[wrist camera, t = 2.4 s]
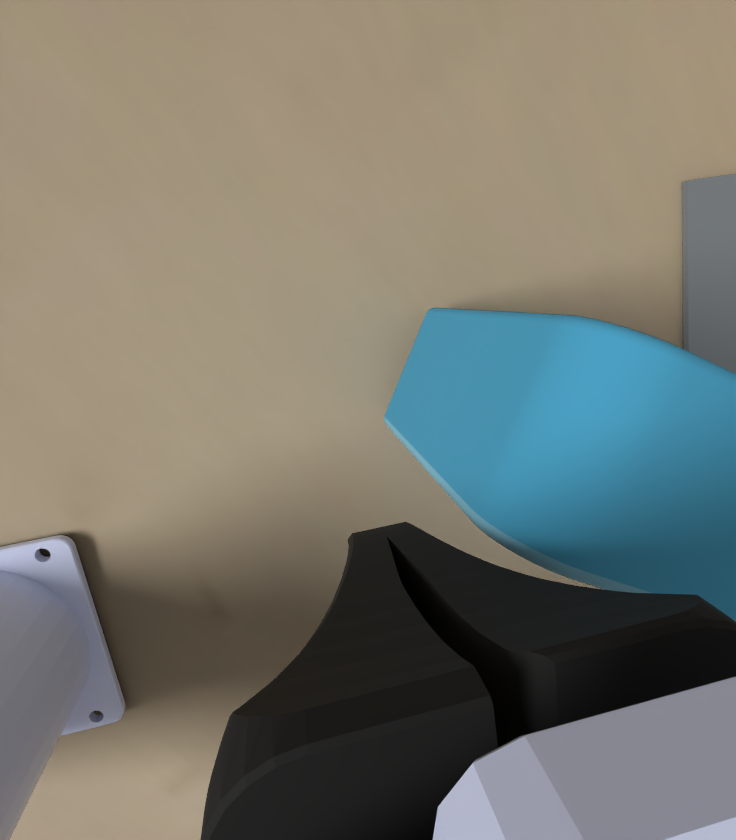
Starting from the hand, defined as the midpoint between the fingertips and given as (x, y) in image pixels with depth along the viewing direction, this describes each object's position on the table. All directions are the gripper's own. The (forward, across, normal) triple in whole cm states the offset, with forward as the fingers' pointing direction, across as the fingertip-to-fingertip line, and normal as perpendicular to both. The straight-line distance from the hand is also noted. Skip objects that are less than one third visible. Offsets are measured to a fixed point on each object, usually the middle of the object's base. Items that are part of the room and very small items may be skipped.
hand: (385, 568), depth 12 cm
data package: (+10, -8, 0) cm, 13 cm away
